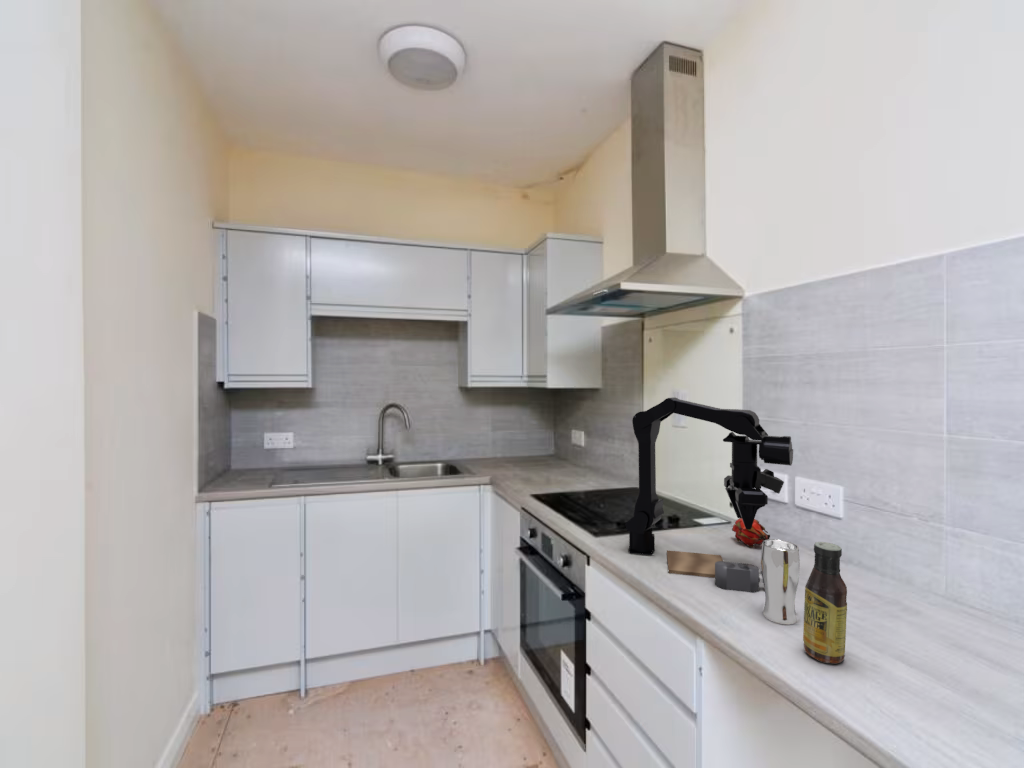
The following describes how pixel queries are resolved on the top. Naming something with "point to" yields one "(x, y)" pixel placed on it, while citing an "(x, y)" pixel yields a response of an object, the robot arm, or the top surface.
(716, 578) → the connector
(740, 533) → the dragon fruit
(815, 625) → the sauce bottle
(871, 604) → the top surface
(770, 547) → the beer glass
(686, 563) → the board
